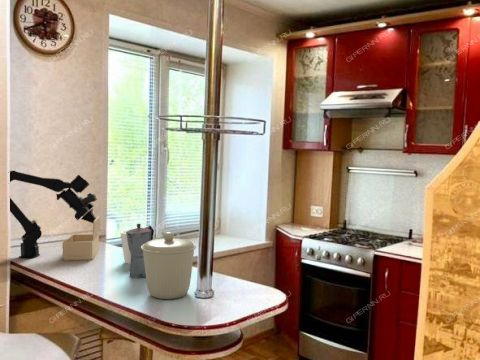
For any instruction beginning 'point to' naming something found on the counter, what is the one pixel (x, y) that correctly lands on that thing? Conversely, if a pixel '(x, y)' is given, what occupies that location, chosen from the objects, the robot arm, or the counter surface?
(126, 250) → the foam cup
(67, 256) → the carton
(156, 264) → the canister
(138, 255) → the moka pot
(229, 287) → the counter surface
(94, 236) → the carton flap
